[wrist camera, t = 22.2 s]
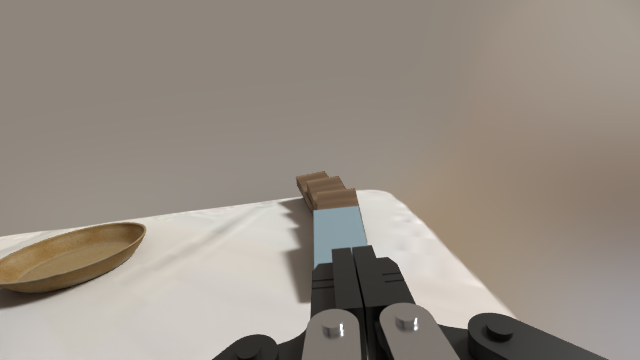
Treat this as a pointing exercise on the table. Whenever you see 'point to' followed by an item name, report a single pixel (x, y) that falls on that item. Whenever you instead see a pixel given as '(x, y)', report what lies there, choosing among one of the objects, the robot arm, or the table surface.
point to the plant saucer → (70, 258)
